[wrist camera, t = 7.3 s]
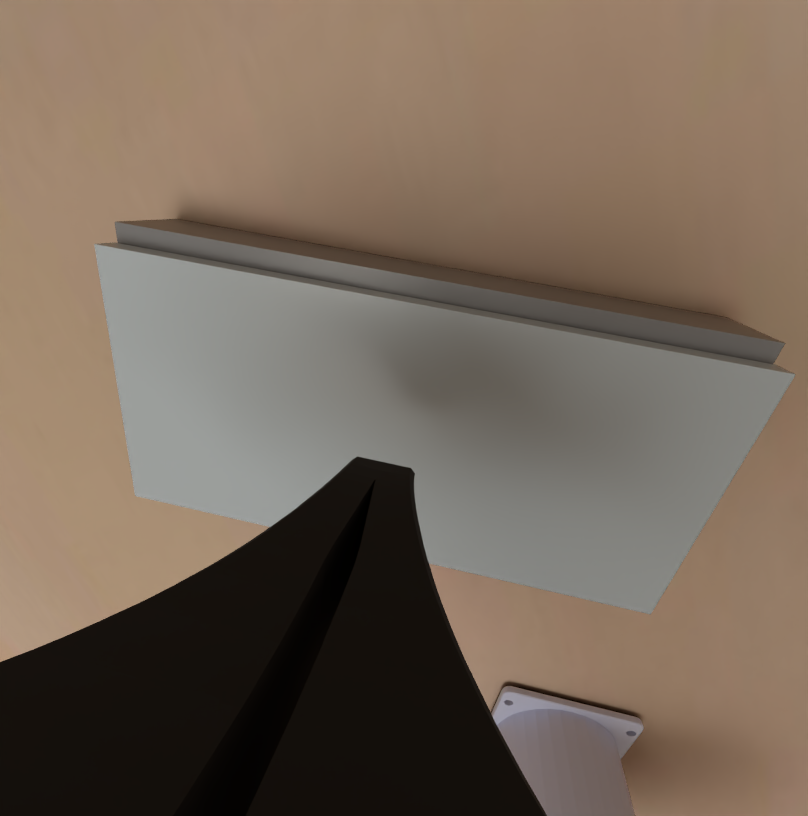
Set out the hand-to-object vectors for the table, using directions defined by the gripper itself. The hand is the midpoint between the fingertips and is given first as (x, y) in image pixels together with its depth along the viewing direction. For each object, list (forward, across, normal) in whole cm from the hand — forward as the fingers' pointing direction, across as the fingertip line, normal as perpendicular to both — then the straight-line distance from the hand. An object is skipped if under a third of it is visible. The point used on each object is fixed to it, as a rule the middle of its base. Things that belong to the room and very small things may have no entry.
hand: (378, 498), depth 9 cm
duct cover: (+5, 0, +1) cm, 5 cm away
